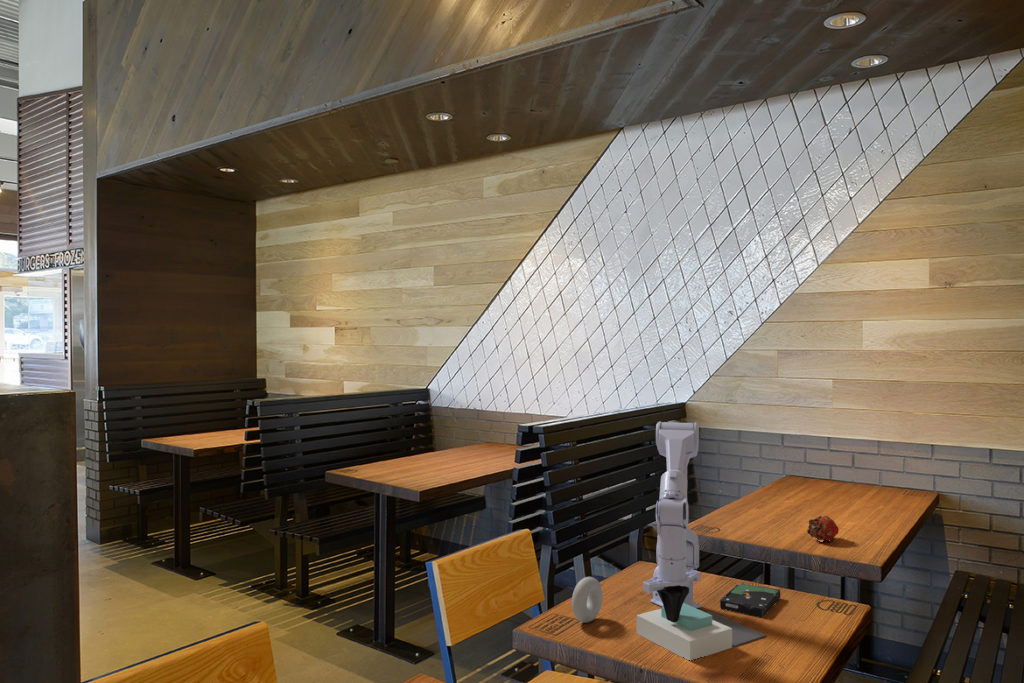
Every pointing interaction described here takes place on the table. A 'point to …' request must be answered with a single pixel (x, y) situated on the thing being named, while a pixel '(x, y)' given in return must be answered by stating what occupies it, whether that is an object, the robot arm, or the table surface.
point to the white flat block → (684, 636)
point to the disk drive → (750, 599)
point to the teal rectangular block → (691, 618)
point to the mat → (738, 630)
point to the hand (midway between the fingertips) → (672, 620)
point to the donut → (580, 605)
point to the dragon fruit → (823, 528)
